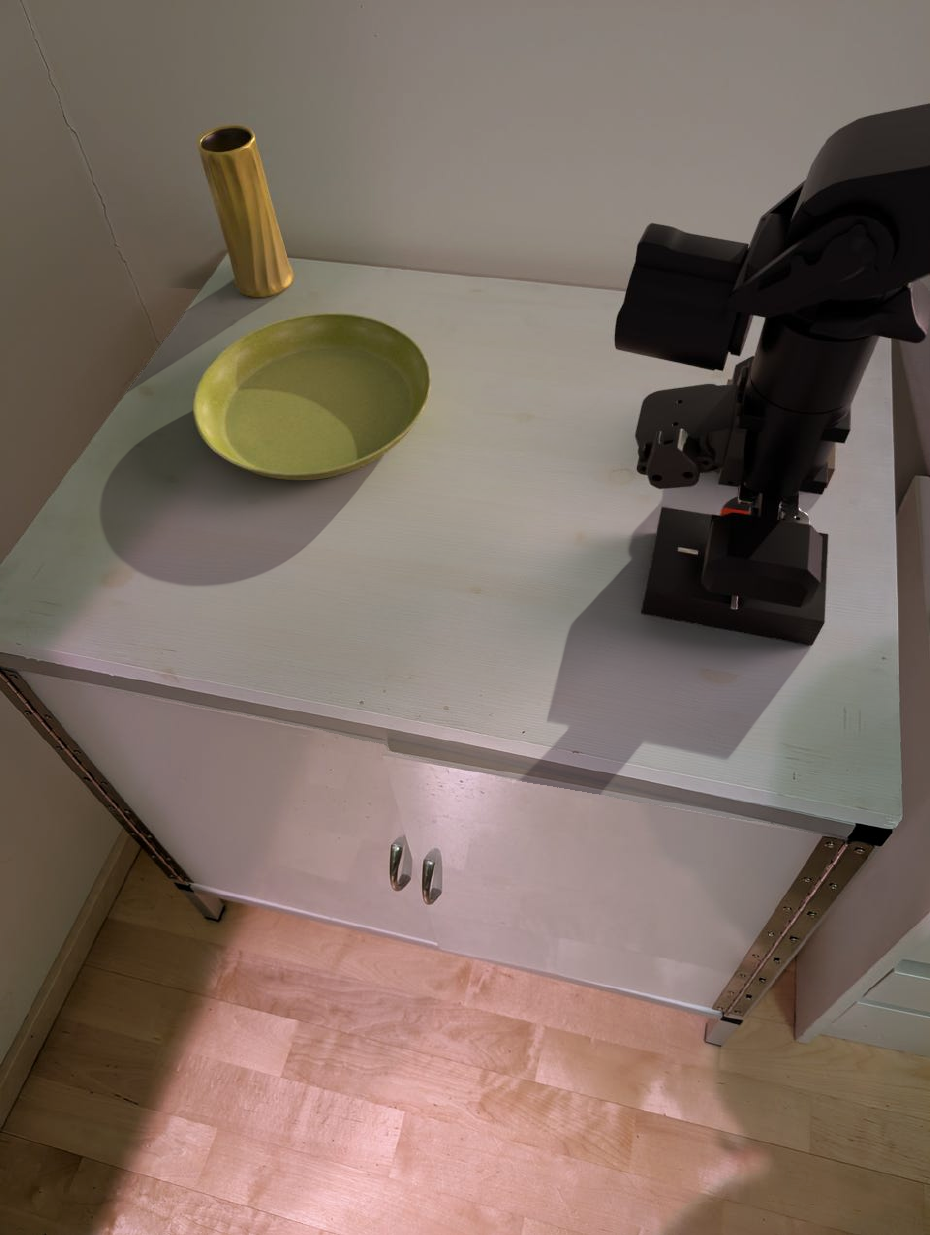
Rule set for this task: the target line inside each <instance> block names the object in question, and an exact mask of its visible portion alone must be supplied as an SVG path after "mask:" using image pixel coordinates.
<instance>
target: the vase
mask: <svg viewBox="0 0 930 1235" xmlns="http://www.w3.org/2000/svg"><path fill="white" fill-rule="evenodd" d="M256 140H257V139H256V135H255V132H253V130H252V129H251V128H249V127H247V126H245V125H241V124H240V125H239V124H227V125H226V124H225V125H220V126H217V127H214V128H212V129H211V128H210V129H209V130H207V131H205V132H204V133H203V134H201V135H200V136H199V138H198V139H197V141H196V142H197V143H196V145H197V149H198V152H199V156H200V160H201V164H202V167H203V170H204V173H205V177H206V180H207V185H208V187H209V191H210V194H211V197H212V202H213V204H214V207H215V212H216V214H217V218H218V220H219V225H220V229H221V232H222V237H223V240H224V243H225V246H226V249H227V254H228V257H229V261H230V264H231V267H232V268H231V269H232V273H233V276H234V285H235V288H236V290H237V291H239V292H240V293H241V294H243V295H244V296H247V297H251V298H267V297H272V296H275V295H278V294H280V293H281V292H283V291H285V290H286V289H288V288H289V286H290V285H291V284H292V282H293V281H294V277H295V274H294V270H293V268H292V266H291V264H290V262H289V259H288V255H287V251H286V247H285V244H284V240H283V237H282V233H281V230H280V226H279V223H278V219H277V216H276V211H275V208H274V205H273V202H272V198H271V194H270V189H269V186H268V182H267V178H266V173H265V170H264V167H263V162H262V159H261V155H260V152H259V149H258V145H257V141H256Z"/></svg>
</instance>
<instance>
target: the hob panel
mask: <svg viewBox="0 0 930 1235" xmlns="http://www.w3.org/2000/svg"><path fill="white" fill-rule="evenodd" d="M711 517H712V514H709V513H703V512H698V511H697V512H696V511H691V510H685V509H678V508H672V507H666V506H661V508H660V512H659V517H658V522H657V525H656V526H657V527H656V531H655V537H654V542H653V547H652V553H651V556H650V557H651V558H650V563H649V568H648V573H647V580H646V585H645V589H644V595H643V600H642V604H641V610H640V614H641V615H646V616H652V617H657V618H662V619H667V620H671V621H678V622H684V623H687V624H688V623H689V624H694V625H699V626H703V627H704V626H705V627H709V628H715V629H720V630H726V631H731V632H736V633H740V634H746V635H752V636H756V637H762V638H767V639H773V640H778V641H783V642H789V643H792V644H793V643H794V644H800V645H804V646H810V647H812V646H813V645H814V643H815V642H816V640H817V638H818V636H819V634H820V633H821V630H822V629H823V627H824V625H825V623H826V608H827V607H826V605H827V583H828V580H827V579H828V559H829V558H828V557H829V533H825V532H819V531H817V532H818V533H819V534H820V535H821V537H822V538H823V541H822V561H821V582H820V585H819V587H818V589H817V591H816V593H815V595H814V597H813V599H812V601H811V602H810V603H808V604H807V605H805V606H803V607H801V608H797V607H792V606H786V605H781V604H775V603H770V602H764V601H759V600H753V599H748V598H742V597H737V596H731V595H726V594H720V593H715V592H710V591H709V590H708V589H707V588H706V587H705V586H704V585H703V584H702V583H701V580H702V573H703V566H704V559H705V552H706V547H707V542H708V537H709V531H710V524H711Z"/></svg>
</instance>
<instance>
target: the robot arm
mask: <svg viewBox="0 0 930 1235" xmlns="http://www.w3.org/2000/svg"><path fill="white" fill-rule="evenodd" d="M752 235H753V236H752V238H751V240H750V243H746V242H740V241H735V240H729V239H724V238H718V237H712V236H707V235H702V234H701V235H700V234H695V233H690V232H686V231H683V230H681V229H679V228H676V227H674V226H672V225H671V226H670V225H665V224H660V223H654V222H651V223H649V224H648V225H647V226H646V228H645V229H644V232H643V233H642V235H641V237H640V238H639V240H638V243H637V245H636V253H635V258H634V259H635V260H634V263H633V267H632V270H631V272H630V275H629V279H628V284H627V286H626V290H625V294H624V298H623V302H622V305H621V306H620V309H619V311H618V313H617V315H616V319H615V327H614V337H613V339H614V340H613V341H614V348H615V349H616V350H617V351H622V352H626V353H629V354H630V353H631V354H635V355H639V356H644V357H648V358H654V359H659V360H662V361H667V362H672V363H676V364H682V365H686V366H690V367H695V368H698V369H699V368H700V369H704V370H708V371H714V372H715V370H716V371H721V372H723V371H724V370H725V366H726V364H727V360H728V356H729V354H730V355H731V356H736V357H741V355H742V353H743V350H744V347H745V344H746V341H747V339H748V336H749V332H750V329H751V325H752V323H753V319H754V316H755V317H758V318H759V317H760V318H764V321H763V325H762V328H761V331H760V335H759V338H758V342H757V345H756V349H755V352H754V355H751V356H749V357H747V358H745V359H744V360H743V361H742V360H741V361H740V362H738V363H737V364H735V366H734V369H733V374H732V377H731V380H732V381H731V384H730V385H727V384H719V385H717V384H715V383H703V384H696V385H688V386H682V387H675V388H674V387H673V388H667V389H660V390H655V391H653V392H651V393H648V395H647V396H646V397H645V398H644V399H643V401H642V403H641V406H640V411H639V416H638V420H637V424H636V429H635V433H634V436H635V437H634V438H635V440H636V445H637V455H638V459H637V464H636V472H637V473H638V474H640V475H643V476H647V479H648V482H649V484H650V486H652V487H654V488H656V489H658V490H666V489H679V488H691V487H694V486H696V484H698V483H699V481H700V477H701V474H707V473H711V472H715V471H714V470H716V469H718V468H719V467H721V469H720V472H718V474H719V475H718V478H717V485H720V486H726V487H732V488H737V496H738V503H739V504H741V505H746V506H754V505H755V503H756V501H755V499H756V495H758V496H759V498H758V508H755V507H750V509H749V512H748V514H742V513H736V512H731V513H728V514H726V515H724V516H720V514H715V513H714V514H713V513H712V514H711V515H712V517H711V524H710V531H709V537H708V542H707V547H706V552H705V559H704V566H703V573H702V580H701V583H702V584H703V585H704V586H705V587H706V588H707V589H708V590H709V591H710V592H715V593H720V594H726V595H731V596H737V597H742V598H748V599H753V600H759V601H764V602H770V603H775V604H781V605H786V606H792V607H797V608H801V607H803V606H805V605H807V604H808V603H810V602H811V601H812V599H813V597H814V595H815V593H816V591H817V589H818V587H819V585H820V582H821V561H822V541H823V538H822V537H821V535H820V534H819V533H818V532H819V531H817V530H816V528H815V527H813V525H811V517H810V516H809V514H808V513H807V512H806V511H803V510H802V509H801V508H800V497H801V493H806V494H807V493H808V494H814V495H819V496H822V495H823V494H824V492H825V490H826V488H825V487H826V485H827V479H828V458H829V456H830V453H831V451H832V449H833V446H834V444H835V442H836V444H845V443H846V442H847V439H848V436H849V435H850V432H851V424H852V404H853V402H854V399H855V397H856V394H857V391H858V390H859V387H860V384H861V382H862V379H863V377H864V375H865V372H866V370H867V367H868V365H869V363H870V360H871V358H872V356H873V354H874V351H875V349H876V346H877V344H878V342H879V339H880V337H881V338H886V339H891V340H896V341H901V342H906V343H910V344H920V343H923V342H924V341H925V340H926V338H927V336H928V332H929V326H930V289H929V288H928V287H927V285H926V284H925V283H924V282H923V281H922V279H925V278H926V277H927V278H928V277H930V102H929V103H925V104H919V105H915V106H909V107H905V108H898V109H895V110H889V111H884V112H880V113H874V114H870V115H866V116H863V117H859V118H857V119H855V120H853V121H850V122H849V123H847V124H846V125H843V126H842V127H840V128H839V129H837V130H836V131H835V132H834V133H833V134H831V135H830V136H829V137H828V138H827V140H825V142H824V144H823V145H822V146H821V147H820V149H819V151H818V153H817V155H816V156H815V158H814V160H813V161H812V163H811V164H810V167H809V171H808V173H807V175H806V178H805V180H803V181H802V182H800V184H798V185H797V186H796V187H795V188H794V189H792V190H791V191H790V192H789V193H788V194H787V195H785V196H784V197H783V198H782V199H780V200H779V201H778V202H777V203H776V204H775V205H774V206H772V207H771V208H770V209H768V210H767V211H766V212H765V213H763V215H761V216H760V217H759V220H758V223H757V224H756V227H755V230H754V232H753V234H752ZM779 506H780V507H781V509H780V511H781V512H780V511H779ZM782 512H783V513H785V514H784V517H783V519H782Z"/></svg>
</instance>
